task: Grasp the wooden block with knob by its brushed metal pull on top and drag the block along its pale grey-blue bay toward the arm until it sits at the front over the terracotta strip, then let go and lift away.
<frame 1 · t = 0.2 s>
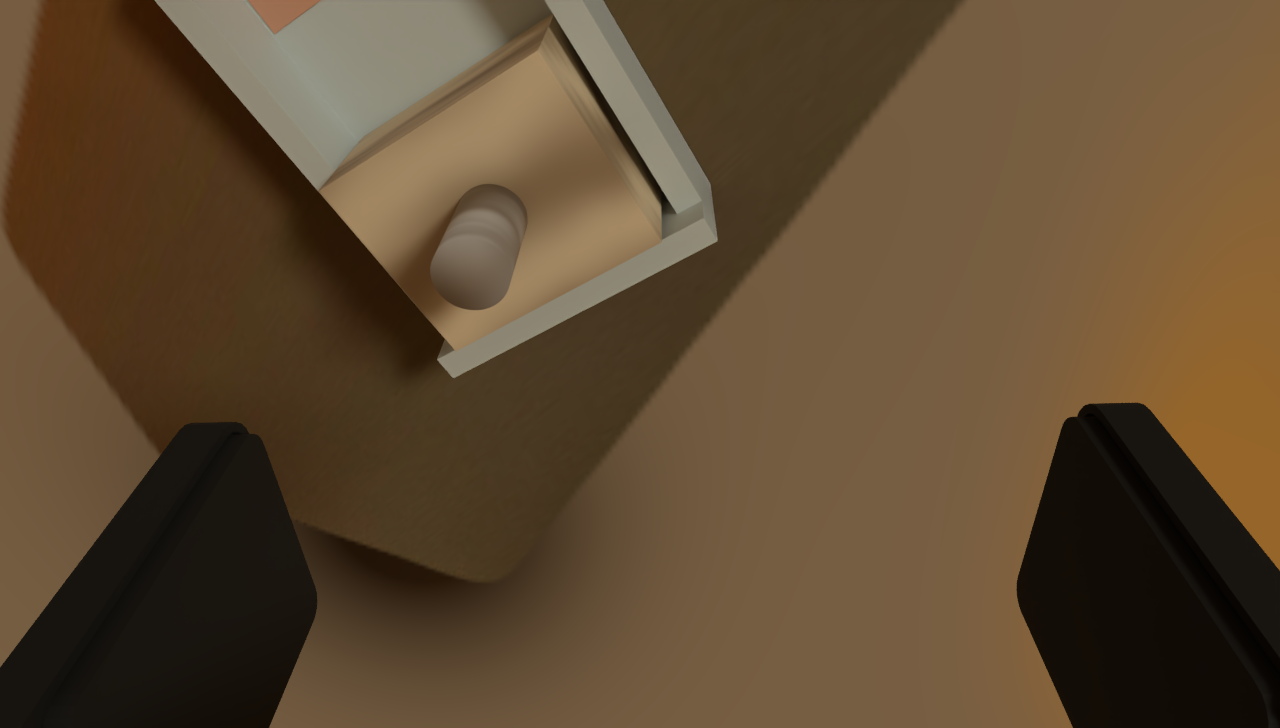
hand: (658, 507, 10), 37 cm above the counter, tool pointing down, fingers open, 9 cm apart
wooden block with knob: (494, 210, 40), point 8 cm above the counter, slide at 0.0 cm
bay: (459, 67, 43), on the counter
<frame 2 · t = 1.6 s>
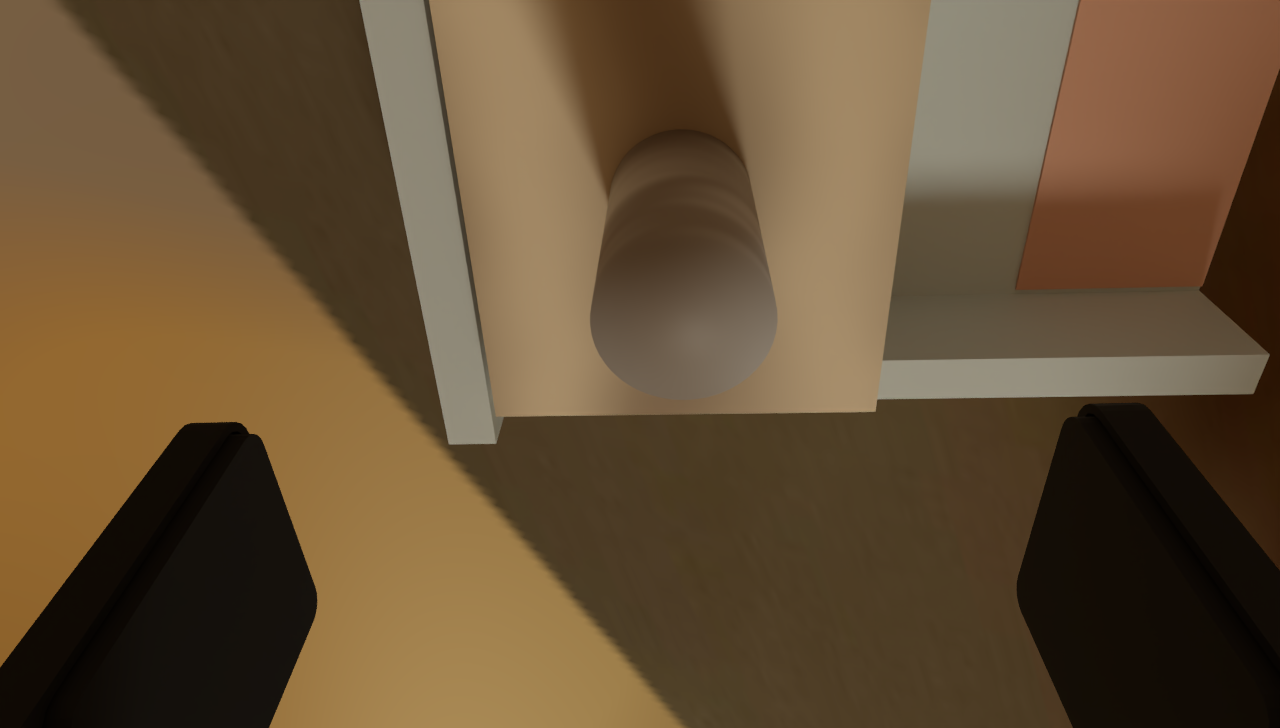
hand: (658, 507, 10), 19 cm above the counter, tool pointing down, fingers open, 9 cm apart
wooden block with knob: (680, 187, 20), point 8 cm above the counter, slide at 0.0 cm
bay: (845, 91, 26), on the counter
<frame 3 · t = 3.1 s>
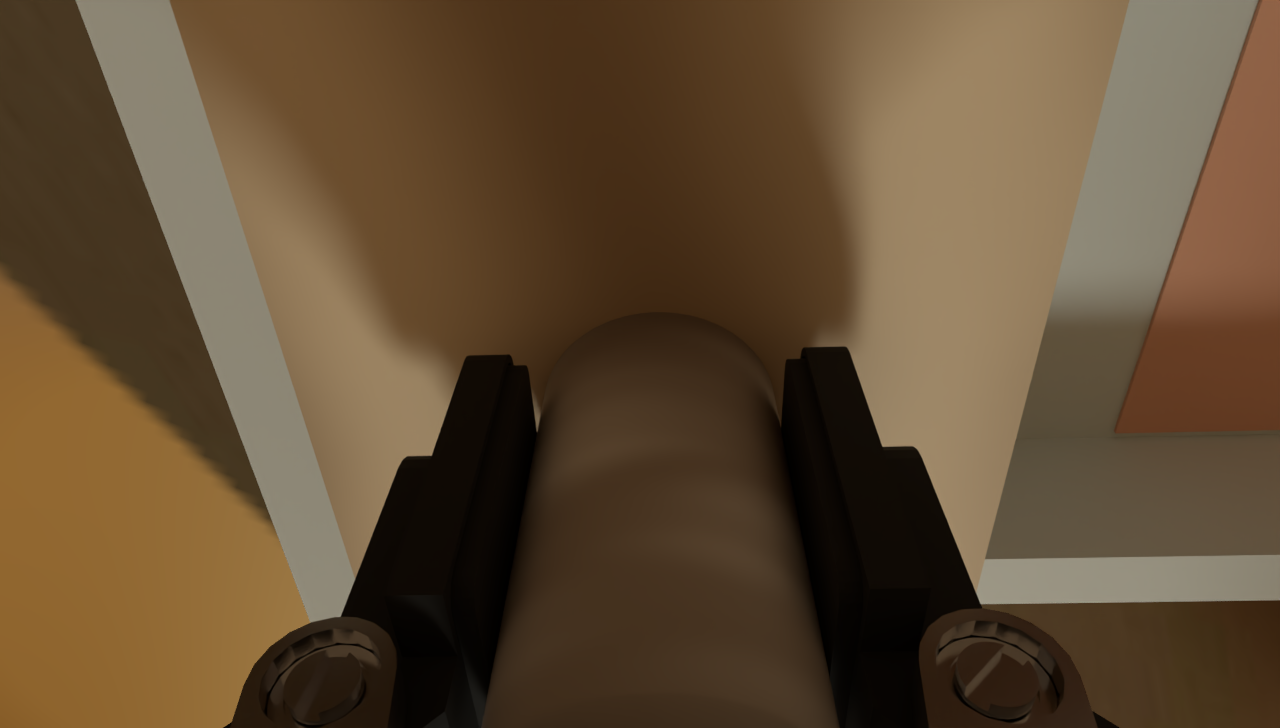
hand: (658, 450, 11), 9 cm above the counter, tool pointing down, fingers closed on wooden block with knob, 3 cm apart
wooden block with knob: (658, 383, 12), point 8 cm above the counter, slide at 0.0 cm, touching gripper
bay: (891, 176, 19), on the counter
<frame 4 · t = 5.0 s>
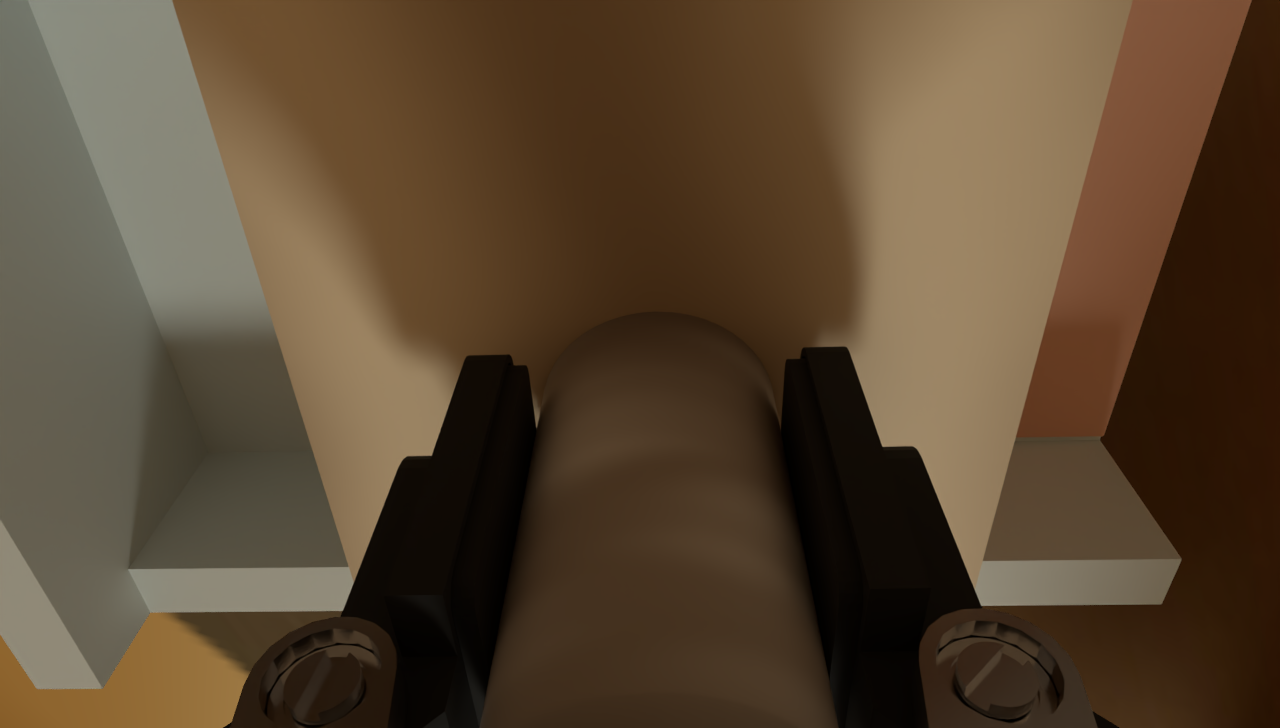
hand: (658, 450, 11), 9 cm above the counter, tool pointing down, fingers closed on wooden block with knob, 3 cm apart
wooden block with knob: (658, 382, 12), point 8 cm above the counter, slide at 6.2 cm, touching gripper
bay: (607, 184, 19), on the counter
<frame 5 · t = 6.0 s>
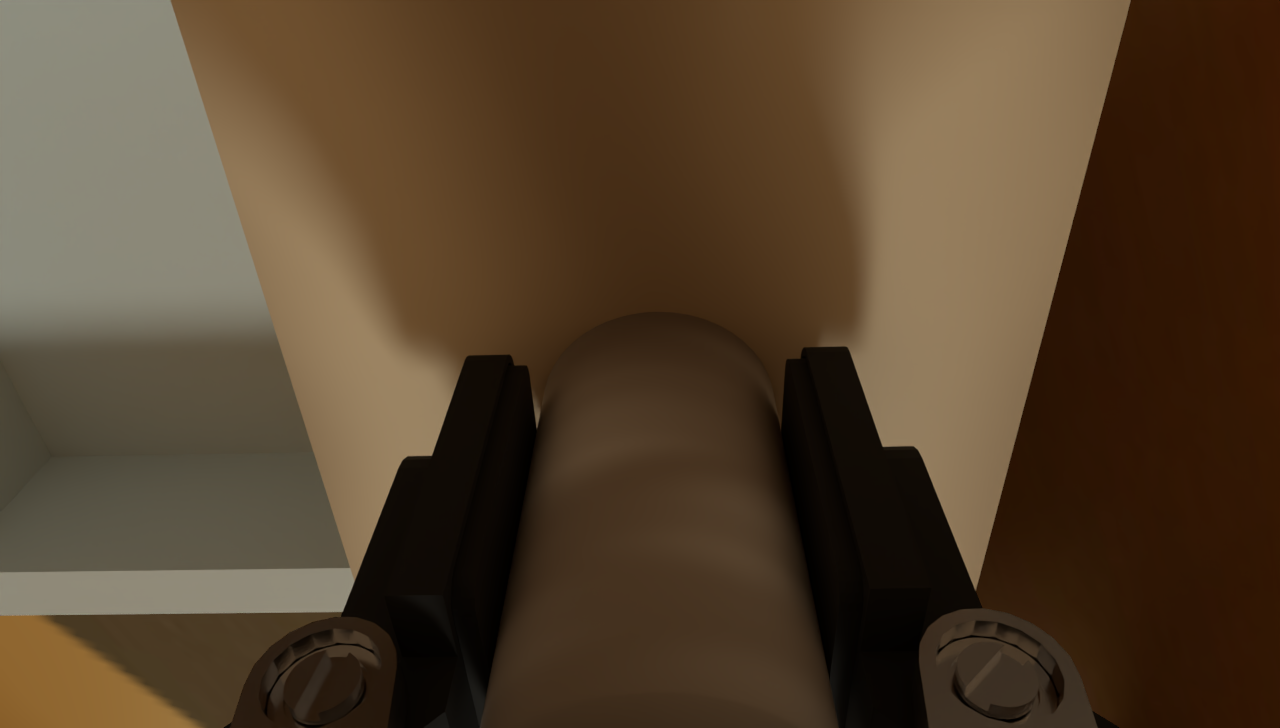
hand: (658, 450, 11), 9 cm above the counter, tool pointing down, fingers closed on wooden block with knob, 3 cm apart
wooden block with knob: (658, 383, 12), point 8 cm above the counter, slide at 10.4 cm, touching gripper
bay: (419, 190, 19), on the counter
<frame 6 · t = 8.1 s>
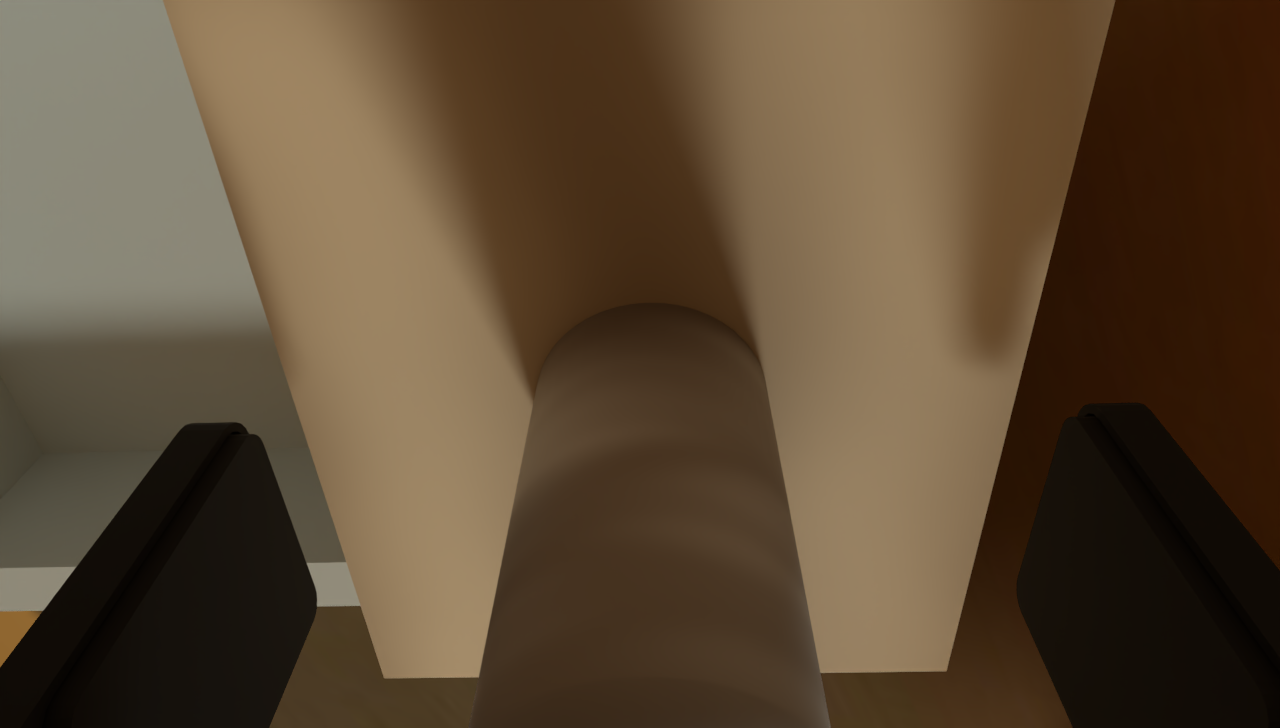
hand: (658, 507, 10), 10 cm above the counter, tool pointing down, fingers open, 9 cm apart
wooden block with knob: (651, 374, 12), point 8 cm above the counter, slide at 10.6 cm
bay: (407, 185, 19), on the counter
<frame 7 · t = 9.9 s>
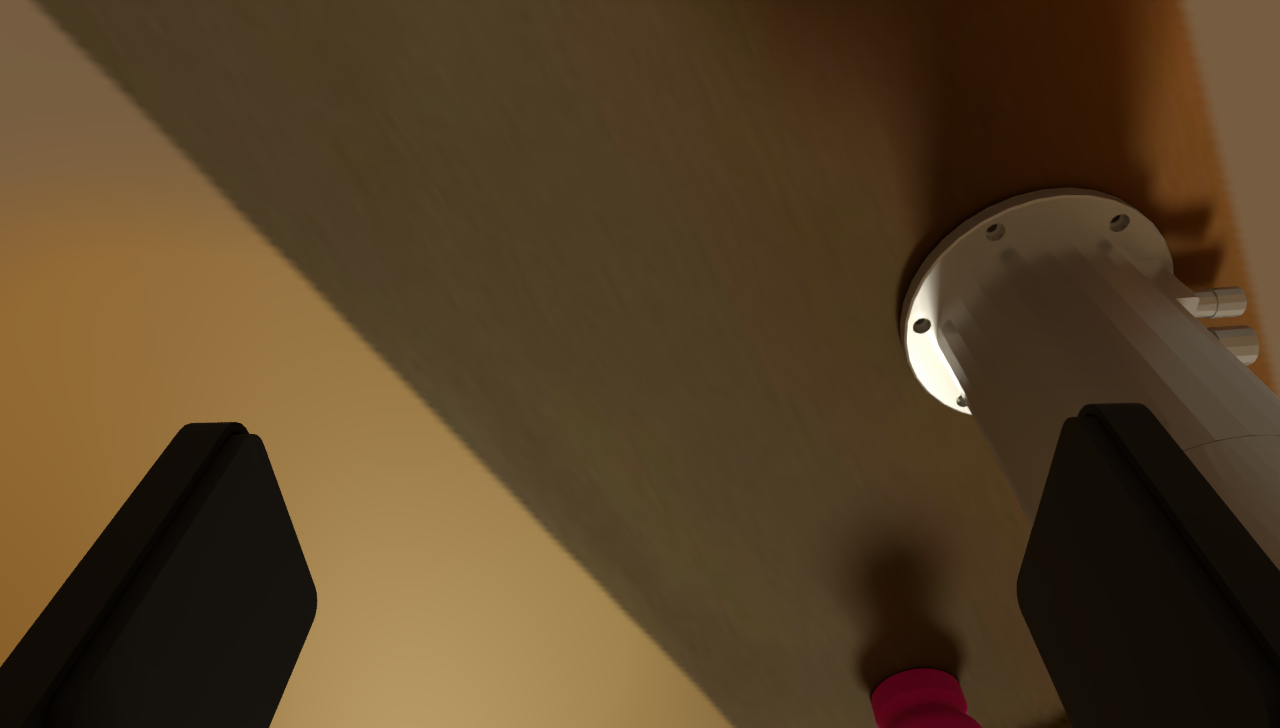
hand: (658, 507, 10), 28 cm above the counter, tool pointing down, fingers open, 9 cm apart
pepper mill: (914, 691, 61), on the counter
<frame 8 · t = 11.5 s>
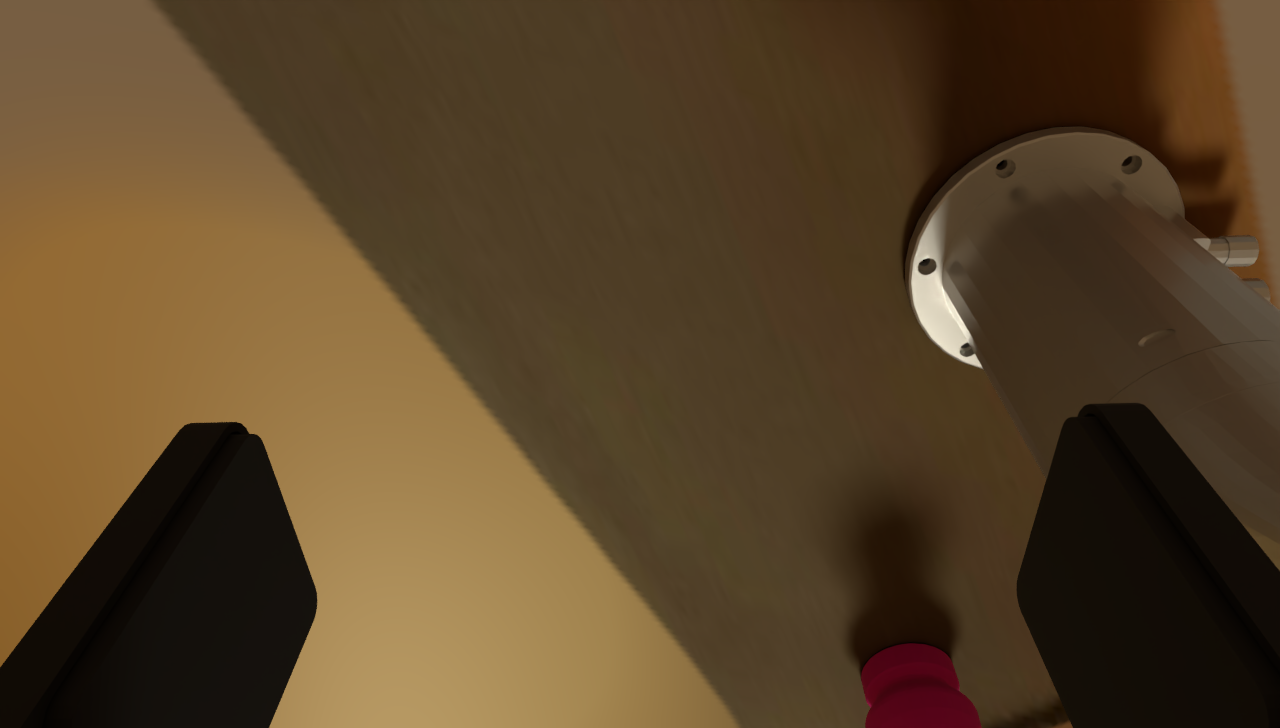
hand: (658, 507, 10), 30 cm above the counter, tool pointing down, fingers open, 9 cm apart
pepper mill: (905, 668, 59), on the counter
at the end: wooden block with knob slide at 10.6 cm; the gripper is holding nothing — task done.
